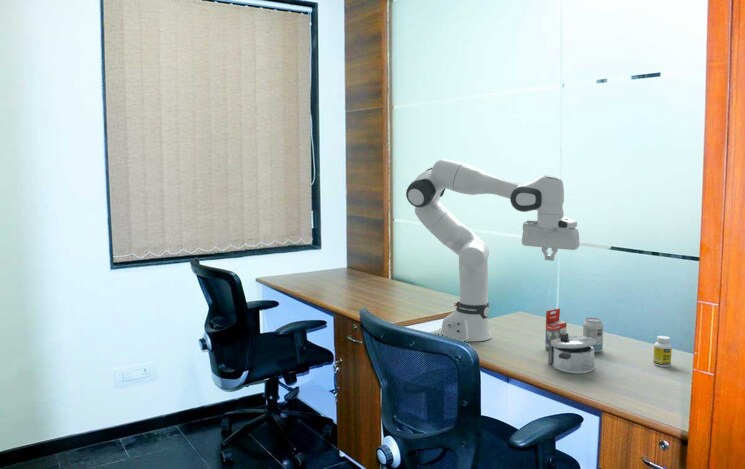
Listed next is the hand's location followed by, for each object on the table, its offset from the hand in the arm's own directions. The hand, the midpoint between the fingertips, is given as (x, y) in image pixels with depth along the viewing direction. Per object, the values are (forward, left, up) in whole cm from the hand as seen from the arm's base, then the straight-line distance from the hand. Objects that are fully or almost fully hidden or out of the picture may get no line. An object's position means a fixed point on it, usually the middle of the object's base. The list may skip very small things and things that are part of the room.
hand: (549, 260), depth 212 cm
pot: (+12, -6, -35) cm, 38 cm away
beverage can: (+11, +15, -35) cm, 40 cm away
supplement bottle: (+35, +15, -35) cm, 52 cm away
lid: (+12, -6, -27) cm, 30 cm away
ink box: (-1, +10, -35) cm, 37 cm away
